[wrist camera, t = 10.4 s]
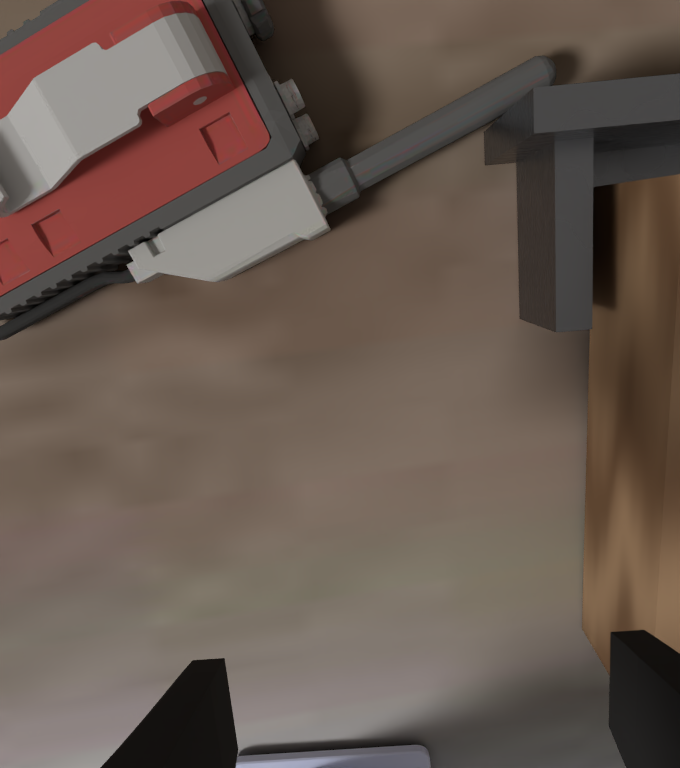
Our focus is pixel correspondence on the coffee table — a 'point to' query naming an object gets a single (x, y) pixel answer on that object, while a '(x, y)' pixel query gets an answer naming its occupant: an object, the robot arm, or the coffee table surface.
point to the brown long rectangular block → (634, 416)
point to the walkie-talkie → (172, 149)
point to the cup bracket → (578, 178)
